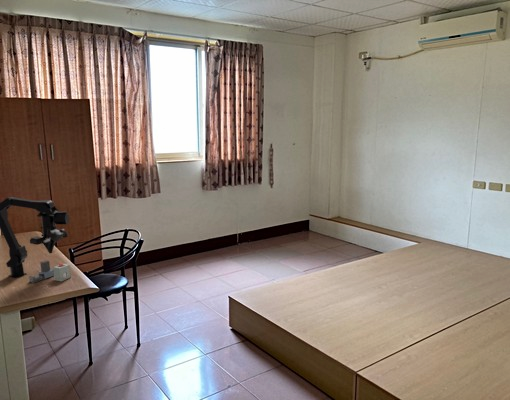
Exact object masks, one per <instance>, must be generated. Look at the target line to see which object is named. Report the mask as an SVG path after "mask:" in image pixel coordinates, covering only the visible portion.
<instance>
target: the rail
mask: <svg viewBox="0 0 510 400" xmlns="http://www.w3.org/2000/svg"><path fill="white" fill-rule="evenodd" d="M50 269H51V270H53V268H50ZM28 277H29V278H28V279H29V282H30V283H31V284H32V283H33V284H34V283H37V282H40V281H42V280H45V278H44V274H40V275H39V274H37V275H35V276H34V275H29V276H28Z"/></svg>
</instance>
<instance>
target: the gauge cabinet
mask: <svg viewBox="0 0 510 400" xmlns="http://www.w3.org/2000/svg"><path fill="white" fill-rule="evenodd" d="M70 266H71V265H70V264H67V263H63V267H59V264H58V265H55V266H53V267H52V269H53V272H54V276H53V279H54V281H58V282H63V281H66V280H68V279H71V278H72V277H71V267H70Z"/></svg>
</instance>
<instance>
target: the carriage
mask: <svg viewBox="0 0 510 400" xmlns="http://www.w3.org/2000/svg"><path fill="white" fill-rule="evenodd" d="M39 264H40V270H39V271H38V272H37V273H38V274H37V275H40V274H44V278H45V279H48V278H51V277H54V272H53V270H51V269H52V268H51V265H50V264H51V263H50V261H49V260H43V261H41V262H40V263H39ZM45 279H44V280H45Z"/></svg>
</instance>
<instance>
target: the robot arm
mask: <svg viewBox="0 0 510 400" xmlns="http://www.w3.org/2000/svg"><path fill="white" fill-rule="evenodd" d="M12 206H13V207H18V208H19V207H20V208H27V209H33V210H34V211H37V212H39V213H38V214H37V215H36V217H38V218H39V217H40V218H41V225H42V226H40V229H41V230H42V233H41V236H33V237H31V238H30V239H29V244H31V245H41V244H42V245H44V247H45V249H46V250H47V252H48V253H49V254H53V251H54V247H55V244H56V243H57V242H58V241H60V240H63V239H65V238H68V237H69V236H68V235H69V234H68V232H67V231H66V230H65V229H64V228H61V229H57V225H58V226H59V225H69V223H70V220H71V219H70V215H69V214H68V211H66V210H65V211H59V209H58V208H57V207H56V206H55V204H54V202H53V201H52V200H49V199H48V200H47V199H43V200H32V199H29V198H28V199H27V198H20V197H15V196H9V197H6V198H5V199H4V200H2V201H0V230H1V233H2V236H3V237H4V240H5V242H6V244H7V246H8V248H9V249H8V255H9V258H10V259H9V260H8V261H7V262H6V263H5V265H6V267H7V268H9V269H10V274H9V275H8V276H7V277H9V278H14V279H17V278H20V277H23V276H25V275H27V273H25V271H24V262H25V261H26V259H27V258H28V250H27V248H26V246H25V245H21V244H20V243H19V241H18V238H17V237H16V235H15V233H14V230H13V228H12V226H11V224H10V222H9V220H8V215H9V213H8V209H10V208H11V207H12ZM62 238H63V239H62Z"/></svg>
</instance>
